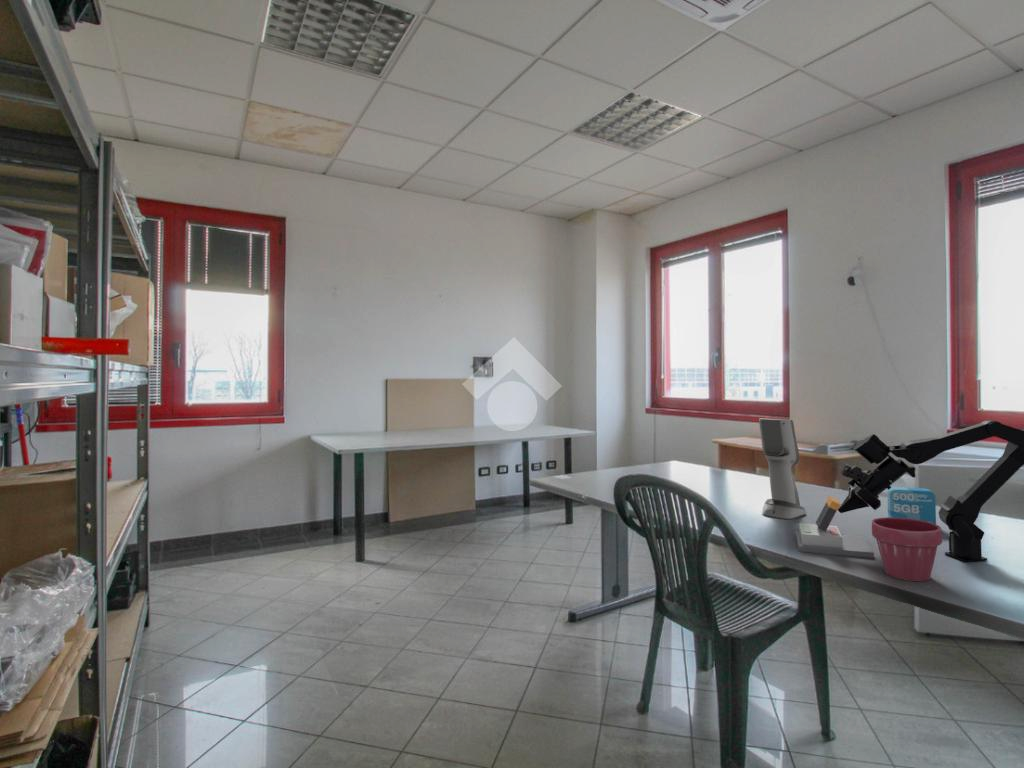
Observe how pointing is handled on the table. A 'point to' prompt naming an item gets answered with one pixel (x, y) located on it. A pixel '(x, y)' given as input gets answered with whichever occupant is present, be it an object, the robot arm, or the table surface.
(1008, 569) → the table surface
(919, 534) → the plant pot
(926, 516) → the data package
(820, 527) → the lever
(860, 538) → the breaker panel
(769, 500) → the handheld scanner
